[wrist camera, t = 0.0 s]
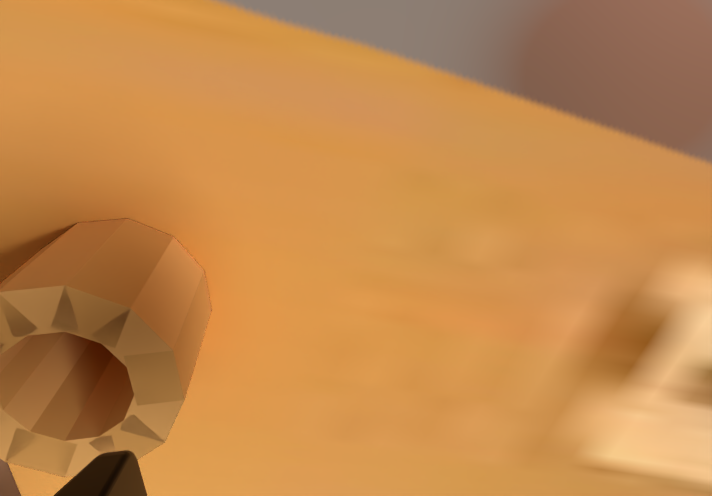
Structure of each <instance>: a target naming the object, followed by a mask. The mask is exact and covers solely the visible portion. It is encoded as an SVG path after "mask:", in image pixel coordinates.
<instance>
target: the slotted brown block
mask: <svg viewBox="0 0 712 496" xmlns="http://www.w3.org/2000/svg"><path fill="white" fill-rule="evenodd" d="M0 496H21V495H20V492H19V490H18V488H17V485H16V483H15V480H14V478H13V476H12V473H11V471H10V468H9V466H8V463H7V462H4V461H3V460H2V459H0Z"/></svg>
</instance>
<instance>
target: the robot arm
mask: <svg viewBox="0 0 712 496" xmlns="http://www.w3.org/2000/svg"><path fill="white" fill-rule="evenodd" d="M54 496H147V493H146V489H145V486H144V482H143V479H142V475H141V472H140V468H139V465H138V461H137V458H136V456H135V454H134V453H133V452H132V451H129V450H124V451H116V452H107V453H103V454H100V455H98V456H97V457H96V458H94V459H93V460H92V461H91V462H90V463H89V464H88V465H87V466H86V467H84V468H83V469H82V470H81V471H80V472H79V473H78V474H77V475H76V476H75V477H73V478H72V479H71V480H70V481H69V482H68V483H67V484H66V485H65V486H64V487H62V488H61V489H60V490H59V491H58V492H57V493H56V494H55V495H54Z"/></svg>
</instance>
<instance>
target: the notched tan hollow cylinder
mask: <svg viewBox="0 0 712 496" xmlns="http://www.w3.org/2000/svg"><path fill="white" fill-rule="evenodd" d="M211 311H212V309H211V304H210V299H209V293H208V288H207V283H206V277H205V272H204V270H203V269H202V268H201V267H200V265H199V264H198V263H197V262H196V261H195V260H194V259H193V258H192V256H191V255H190V254H189V253H188V252H187V251H186V250H185V249H184V248H183V246H182V245H181V244H180V243H179V242H178V241H177V240H176V239H175V237H173V236H171V235H168V234H166V233H163V232H161V231H158V230H155V229H153V228H150V227H148V226H145V225H143V224H140V223H138V222H135V221H133V220H130V219H128V218H127V219H115V220H104V221H93V222H82V223H77V224H76V225H74V226H73V227H72V228H70V229H69V230H67V231H66V232H65V233H63V234H62V235H60V236H59V237H58V238H56V239H55V240H54V241H52V242H51V243H49V244H48V245H47V246H45V247H44V248H42V249H41V250H40V251H39V252H37V253H36V254H35V255H34V256H33V257H31V258H30V259H29V260H28V261H27V262H25V263H24V264H23V265H22V266H21V267H19V268H18V269H17V270H16V271H15V272H13V273H12V274H11V275H10V276H9V277H7V278H6V279H5V280H4V281H3V282H1V283H0V459H2V460H3V461H4V462H7V463H11V464H14V465H18V466H22V467H26V468H30V469H34V470H38V471H42V472H46V473H50V474H54V475H58V476H62V477H70V476H76V475H77V474H78V473H79V472H80V471H81V470H82V469H83V468H84V467H86V466H87V465H88V464H89V463H90V462H91V461H92V460H93V459H94V458H96V457H97V456H98V455H100V454H103V453H107V452H116V451H124V450H129V451H132V452H133V453H134V454H135V456H136V458H137V460H138V459H140V458H141V457H143V456H144V455H146V454H147V453H149V452H151V451H152V450H154V449H155V448H157V447H159V446H160V445H162V444H163V443H165V441H166V439H167V437H168V435H169V432H170V430H171V428H172V426H173V424H174V422H175V419H176V417H177V415H178V413H179V411H180V408H181V406H182V404H183V402H184V400H185V397H186V394H187V390H188V387H189V384H190V380H191V377H192V374H193V370H194V367H195V364H196V361H197V357H198V354H199V351H200V347H201V344H202V341H203V338H204V334H205V331H206V328H207V324H208V321H209V318H210V315H211Z"/></svg>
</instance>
